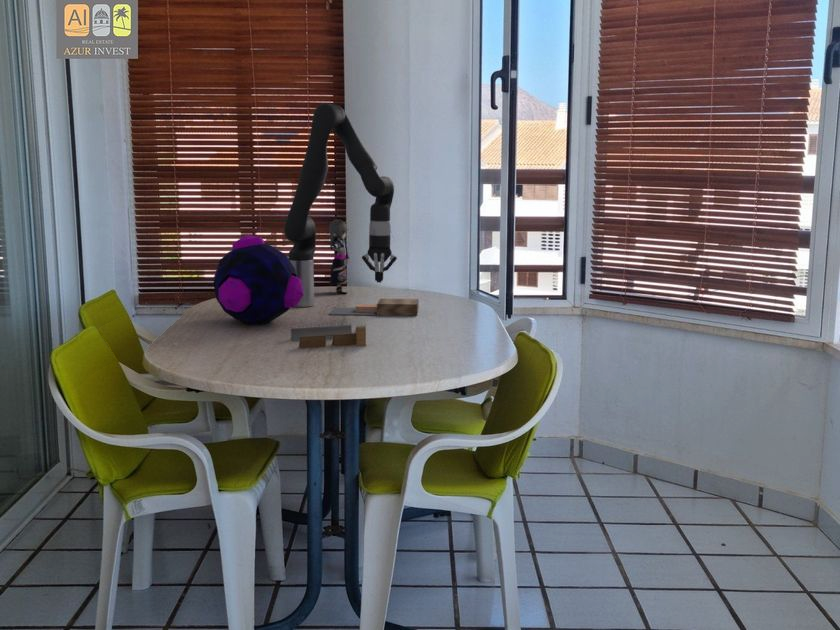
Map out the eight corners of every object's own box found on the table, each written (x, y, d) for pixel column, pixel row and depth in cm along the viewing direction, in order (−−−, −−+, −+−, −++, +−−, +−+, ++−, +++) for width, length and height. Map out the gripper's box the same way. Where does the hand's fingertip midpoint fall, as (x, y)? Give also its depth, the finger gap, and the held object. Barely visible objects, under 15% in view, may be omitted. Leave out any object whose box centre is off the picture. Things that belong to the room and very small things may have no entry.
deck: (377, 315, 319) (377, 303, 318) (380, 309, 330) (380, 298, 330) (416, 315, 318) (417, 304, 317) (418, 309, 330) (418, 299, 329)
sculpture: (262, 317, 323) (228, 240, 318) (326, 297, 309) (291, 215, 303) (211, 349, 298) (172, 265, 292) (277, 328, 283) (238, 240, 278)
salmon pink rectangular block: (355, 312, 322) (355, 306, 322) (357, 309, 328) (357, 303, 328) (378, 312, 322) (378, 306, 321) (379, 309, 328) (379, 304, 327)
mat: (328, 315, 318) (328, 313, 318) (334, 308, 332) (334, 307, 332) (374, 315, 318) (374, 314, 318) (377, 308, 331) (377, 307, 331)
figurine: (345, 297, 357) (344, 221, 352) (326, 297, 357) (325, 221, 352) (349, 291, 374) (349, 218, 369) (331, 291, 374) (330, 218, 369)
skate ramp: (362, 334, 288) (361, 310, 287) (396, 356, 256) (396, 330, 255) (270, 339, 279) (270, 315, 277) (294, 364, 246) (293, 337, 245)
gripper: (359, 234, 316) (359, 283, 319) (397, 235, 315) (396, 284, 319) (362, 232, 323) (361, 280, 327) (399, 233, 323) (398, 281, 326)
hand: (379, 282), depth 323 cm, fingers closed
